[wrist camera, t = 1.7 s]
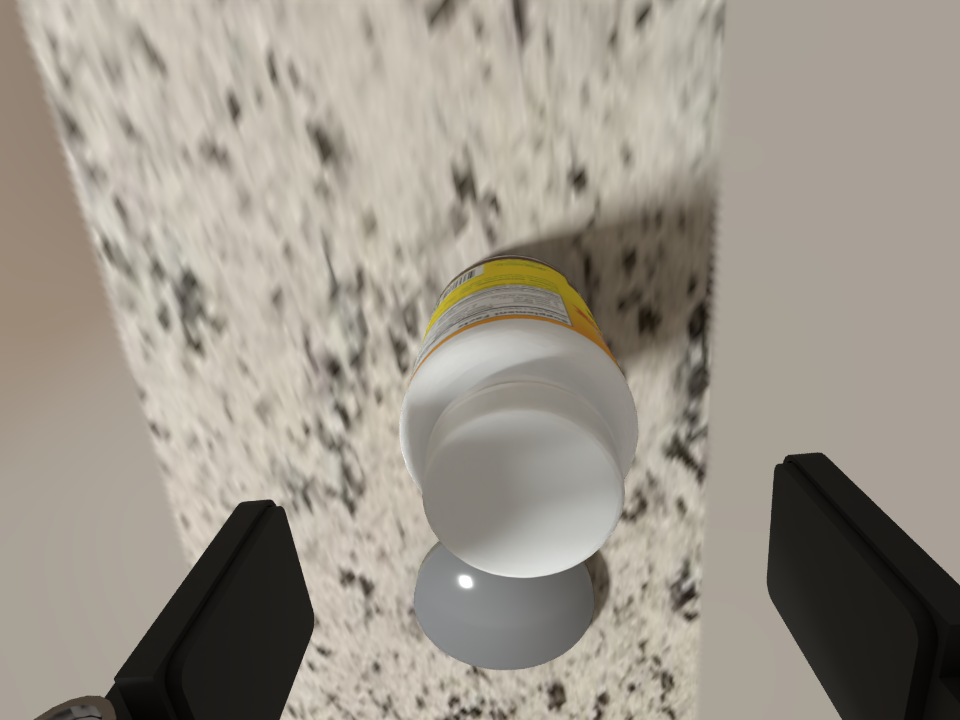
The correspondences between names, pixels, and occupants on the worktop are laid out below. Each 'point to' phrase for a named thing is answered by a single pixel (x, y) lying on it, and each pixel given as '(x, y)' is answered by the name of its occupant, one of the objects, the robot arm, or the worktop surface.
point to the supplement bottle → (518, 421)
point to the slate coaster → (501, 612)
